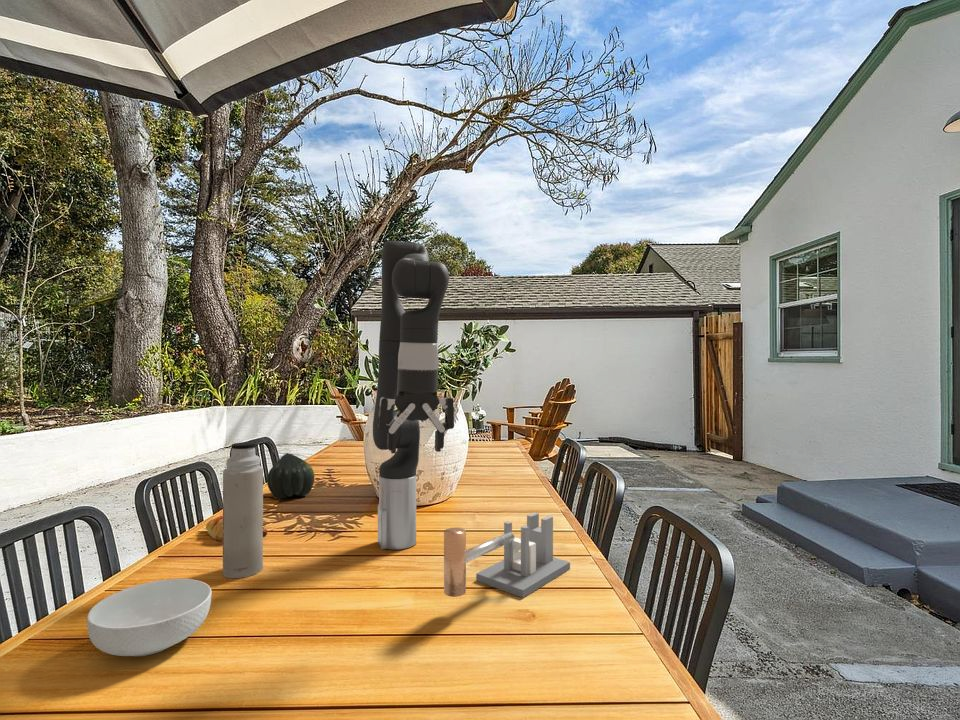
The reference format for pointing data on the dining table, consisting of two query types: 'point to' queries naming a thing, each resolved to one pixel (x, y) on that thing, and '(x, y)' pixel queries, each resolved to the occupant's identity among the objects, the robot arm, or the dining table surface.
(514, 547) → the block
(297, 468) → the squash
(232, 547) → the thermos bottle
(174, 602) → the cereal bowl
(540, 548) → the shaft bracket
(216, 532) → the croissant
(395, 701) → the dining table surface
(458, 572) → the shaft
